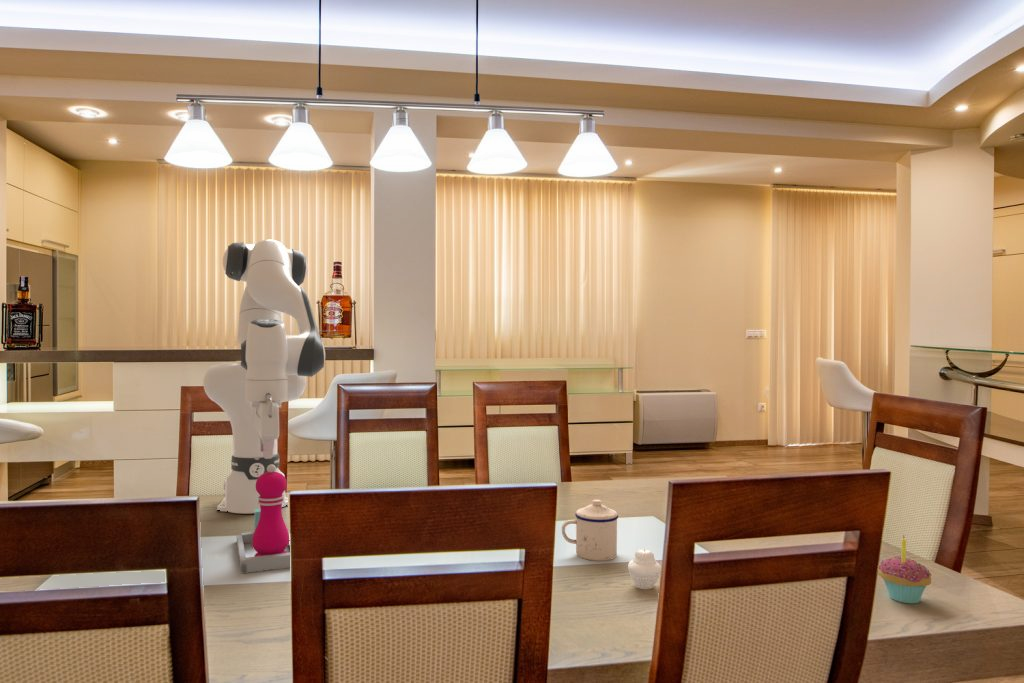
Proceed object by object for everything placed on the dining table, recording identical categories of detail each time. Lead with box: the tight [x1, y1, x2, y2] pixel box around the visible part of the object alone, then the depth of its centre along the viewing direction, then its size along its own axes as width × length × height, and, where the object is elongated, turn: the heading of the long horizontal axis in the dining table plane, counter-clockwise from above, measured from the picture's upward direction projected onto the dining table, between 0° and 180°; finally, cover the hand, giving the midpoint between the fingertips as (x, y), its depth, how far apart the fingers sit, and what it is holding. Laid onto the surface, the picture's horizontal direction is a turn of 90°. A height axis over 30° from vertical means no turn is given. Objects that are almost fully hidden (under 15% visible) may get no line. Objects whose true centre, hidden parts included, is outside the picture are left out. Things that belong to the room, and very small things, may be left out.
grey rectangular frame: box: [236, 508, 291, 574], centre depth 144 cm, size 22×11×7 cm, turn 24°
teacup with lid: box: [561, 499, 619, 562], centre depth 146 cm, size 12×9×12 cm
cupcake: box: [877, 534, 932, 604], centre depth 123 cm, size 9×8×12 cm
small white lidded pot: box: [627, 548, 662, 590], centre depth 127 cm, size 6×6×7 cm
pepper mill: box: [251, 464, 290, 557], centre depth 139 cm, size 7×7×20 cm
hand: (266, 454), depth 151 cm, fingers open, 8 cm apart
